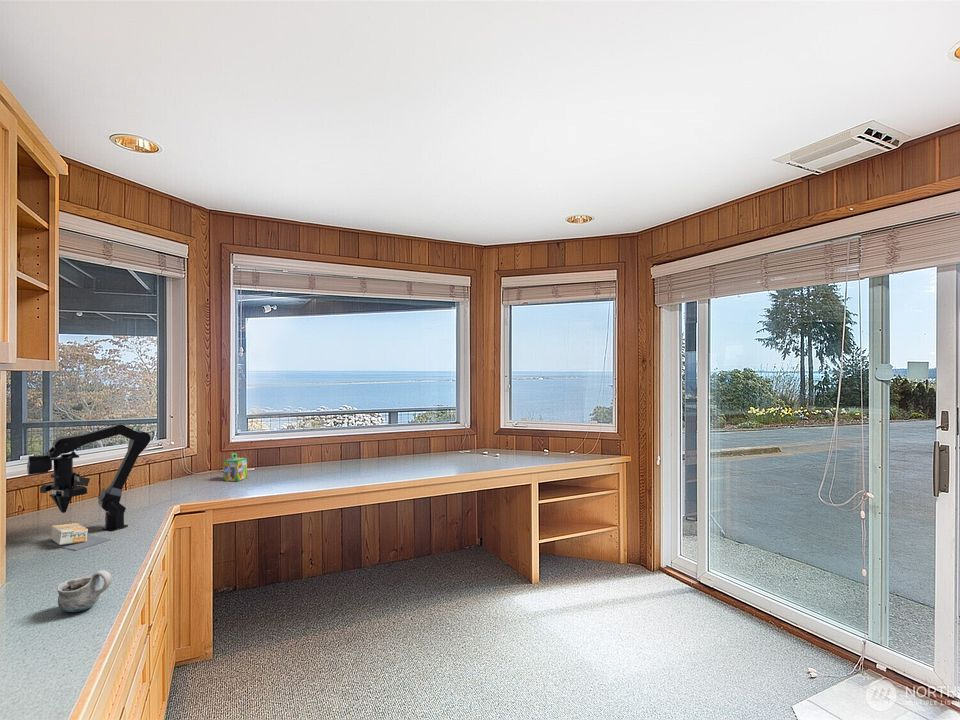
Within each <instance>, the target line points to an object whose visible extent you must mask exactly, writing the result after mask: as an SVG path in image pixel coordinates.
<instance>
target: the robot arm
mask: <svg viewBox="0 0 960 720" xmlns="http://www.w3.org/2000/svg"><path fill="white" fill-rule="evenodd" d="M115 436H121V437H125V438H127V439H129V441H128V445H127V452H126V453H125V455H124V457H123V459H122V462H121V463H120V466H119V468H118V469H117V472H116V473H115V476H114V478H113V479H112V481H111V483H110V485H109V486H108V487H107V488H102V489H101V491H100V495H99V496H97V499H98V501H97V504H98V506H99V507H100V508H101V509H102V510H104V511H105V517H104V518H105V521H104V523H105V525H104V526H103V527H101V530H105V531H112V532H113V531H116V530H120V529H123V528H126V527H129V525H128V524H125V512H126V509H127V507H126V506H124V505H123V504H121V499H122V492H123V488H124V486H125V484H126V482H127V480H128V477H129V476H130V473H131V472H132V470H133V467H134V466H135V464H136V462H137V460H138V457H139V456H140V454H141V453H142V452H144V450H145V449H146V448H147V447H148V445H149V443H150V442H151V439H152V438H151V436H150V434H149V433H148V432H146V431H143V430H134V429H132V428H130V427H128V426H126V425H124V424H122V423H116V424H114V425H111V426H108V427H104V428H100V429H96V430H93V431H90V432H87V433H83V434H82V433H81V434H75V435H65V436H64V435H63V436H59V437H56V438H55V439H54V440H53V442H52V446H51V447H50V449H49V450H48V451H47V452H46V453H45V454H42V455H29V456H28V459H27V464H26V465H27V466H26V470H27V471H26V472H27V475H28V476H32V475H41V474H48V473H49V472H51V470H53V474H50V478H53V482H50V483H45V484H42V485H41V486H40V488H39V493H40V494H46V493H48V492H51V494H49V497H50V498H51V499H52V500H53V502H54V503H55V504H56V506H57V508H58V509H59V511H60V512H61V513H64V514H65V513H66V512H67V510H68V508H69V505H70V502H71V500H72V498H73V497H79V496H81V495H87V494H88V486H89V483H90V481H91V478H90V477H86V476H85V477H83V476H81V474H80V473H76V472H75V471H74V460H73V459H76V458H77V459H78V458H80V454H79V455H78V454H77V453H76V452H75V451H76V450H77V449H79V448H82V447H83V446H85V445H87V444H91V443H95V442H99V441H102V440H105V439H108V438H112V437H115Z"/></svg>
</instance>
